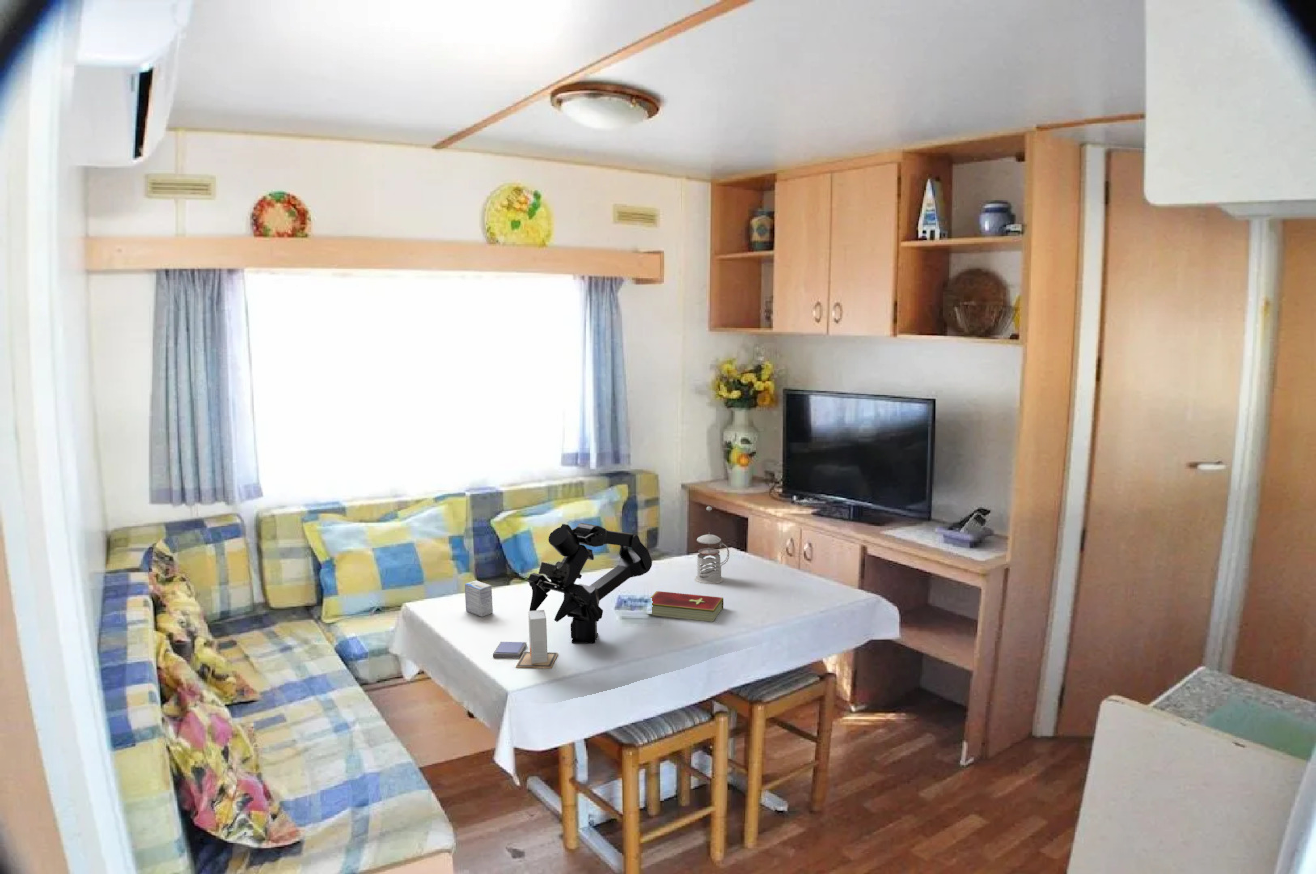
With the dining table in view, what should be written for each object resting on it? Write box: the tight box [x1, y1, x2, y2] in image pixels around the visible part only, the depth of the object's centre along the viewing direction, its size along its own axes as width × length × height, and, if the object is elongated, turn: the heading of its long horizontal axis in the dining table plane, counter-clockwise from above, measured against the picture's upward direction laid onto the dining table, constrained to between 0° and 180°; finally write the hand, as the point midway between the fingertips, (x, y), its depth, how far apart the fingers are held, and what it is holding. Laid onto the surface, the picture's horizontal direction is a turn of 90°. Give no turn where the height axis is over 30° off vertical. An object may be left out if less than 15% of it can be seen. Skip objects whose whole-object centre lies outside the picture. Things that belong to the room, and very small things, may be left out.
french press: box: [694, 506, 730, 585], centre depth 279 cm, size 10×12×25 cm
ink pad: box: [492, 641, 527, 659], centre depth 222 cm, size 7×8×1 cm
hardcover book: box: [649, 590, 724, 623], centre depth 251 cm, size 12×21×4 cm, turn 72°
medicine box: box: [464, 580, 494, 617], centre depth 251 cm, size 8×4×9 cm, turn 47°
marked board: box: [515, 651, 559, 669], centre depth 216 cm, size 9×9×1 cm
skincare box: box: [527, 609, 548, 664], centre depth 216 cm, size 6×4×12 cm
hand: (542, 617), depth 217 cm, fingers open, 9 cm apart
